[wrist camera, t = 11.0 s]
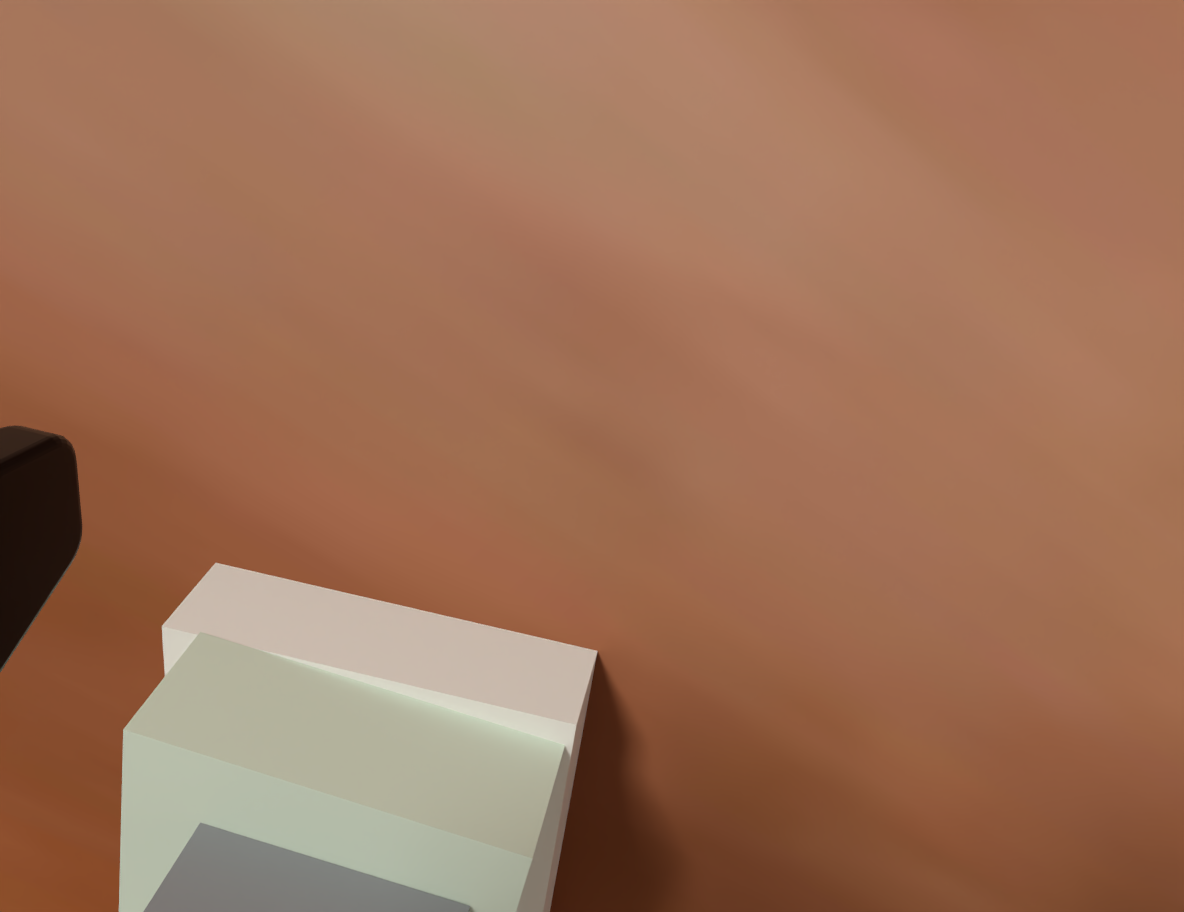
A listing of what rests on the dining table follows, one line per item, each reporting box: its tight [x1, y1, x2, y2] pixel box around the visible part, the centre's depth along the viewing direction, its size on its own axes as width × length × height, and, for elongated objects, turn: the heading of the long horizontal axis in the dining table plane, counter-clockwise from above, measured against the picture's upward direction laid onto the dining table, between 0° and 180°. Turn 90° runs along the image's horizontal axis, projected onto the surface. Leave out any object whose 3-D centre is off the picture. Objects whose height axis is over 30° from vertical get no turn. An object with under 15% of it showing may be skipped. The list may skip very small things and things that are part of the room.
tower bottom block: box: [162, 563, 597, 912], centre depth 27 cm, size 9×9×3 cm
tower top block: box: [119, 632, 565, 912], centre depth 24 cm, size 8×8×3 cm
